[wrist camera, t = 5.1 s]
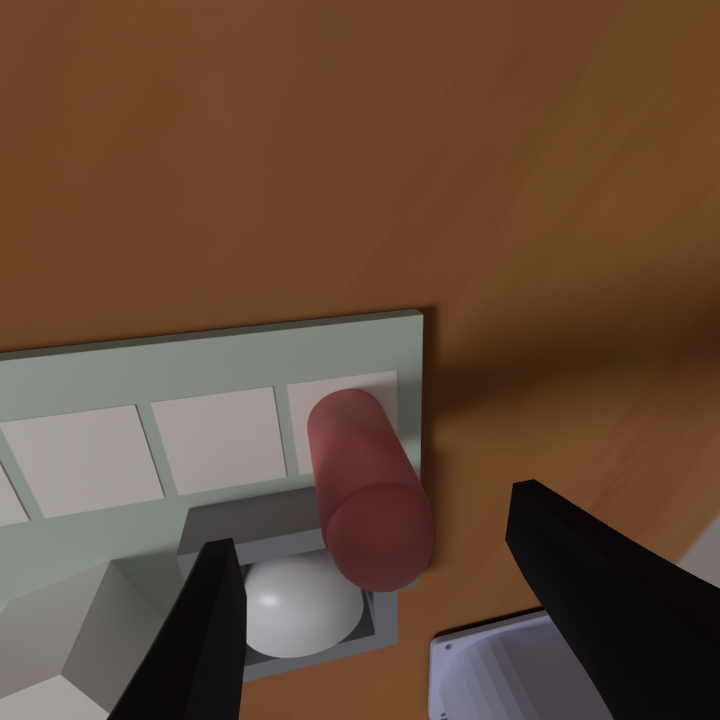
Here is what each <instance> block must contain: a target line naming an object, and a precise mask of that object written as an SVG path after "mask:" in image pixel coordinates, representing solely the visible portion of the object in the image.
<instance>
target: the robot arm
mask: <svg viewBox="0 0 720 720" xmlns="http://www.w3.org/2000/svg"><path fill="white" fill-rule="evenodd" d="M505 540H506V542H507V544H508V547H509V549H510V551H511V553H512V555H513V557H514V559H515V561H516V563H517V565H518V567H519V568H520V570H521V572H522V574H523V576H524V578H525V580H526V581H527V583H528V584H529V586H530V587H531V589H532V591H533V592H534V594H535V595H536V597H537V598H538V600H539V601H540V603H541V604H542V606H543V607H544V609H545V610H542V611H538V612H534V613H531V614H527V615H523V616H519V617H515V618H511V619H507V620H503V621H499V622H495V623H491V624H487V625H483V626H479V627H475V628H471V629H467V630H463V631H459V632H455V633H451V634H447V635H443V636H439V637H437V638H435V639H433V641H432V642H431V647H430V672H429V698H428V714H429V717H430V719H431V720H440V719H443V718H447V719H448V720H720V588H718V587H716V586H714V585H712V584H710V583H708V582H706V581H704V580H702V579H700V578H698V577H696V576H694V575H692V574H690V573H689V572H687V571H685V570H683V569H681V568H679V567H678V566H676V565H674V564H672V563H671V562H669V561H667V560H665V559H663V558H662V557H660V556H658V555H656V554H655V553H653V552H651V551H649V550H648V549H646V548H644V547H642V546H641V545H639V544H637V543H636V542H634V541H632V540H631V539H629V538H627V537H626V536H624V535H622V534H621V533H619V532H617V531H616V530H614V529H613V528H611V527H609V526H608V525H606V524H604V523H603V522H601V521H600V520H598V519H597V518H595V517H593V516H592V515H590V514H589V513H587V512H585V511H584V510H582V509H581V508H579V507H578V506H576V505H575V504H573V503H571V502H570V501H568V500H567V499H565V498H564V497H562V496H560V495H559V494H557V493H556V492H554V491H553V490H551V489H549V488H548V487H546V486H544V485H543V484H541V483H540V482H538V481H536V480H534V479H533V480H528V481H522V482H517V483H513V488H512V495H511V502H510V509H509V516H508V523H507V530H506V537H505ZM246 642H247V594H246V590H245V586H244V582H243V578H242V574H241V569H240V565H239V561H238V557H237V553H236V549H235V545H234V541H233V537H232V538H227V539H221V540H216V541H211V542H206V543H205V544H204V545H203V546H202V547H201V550H200V552H199V554H198V556H197V558H196V561H195V563H194V565H193V567H192V569H191V571H190V573H189V575H188V577H187V579H186V581H185V583H184V585H183V587H182V589H181V591H180V593H179V595H178V597H177V599H176V601H175V603H174V605H173V607H172V609H171V610H170V612H169V614H168V616H167V618H166V619H165V621H164V623H163V625H162V627H161V629H160V630H159V632H158V634H157V636H156V638H155V640H154V641H153V643H152V645H151V647H150V648H149V650H148V652H147V654H146V655H145V657H144V659H143V660H142V662H141V664H140V665H139V667H138V669H137V670H136V672H135V674H134V675H133V677H132V679H131V680H130V682H129V684H128V685H127V687H126V689H125V690H124V692H123V694H122V695H121V697H120V699H119V700H118V702H117V704H116V705H115V707H114V708H113V710H112V711H111V713H110V715H109V716H108V718H107V719H106V720H238V719H239V710H240V701H241V692H242V683H243V673H244V664H245V654H246Z"/></svg>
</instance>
